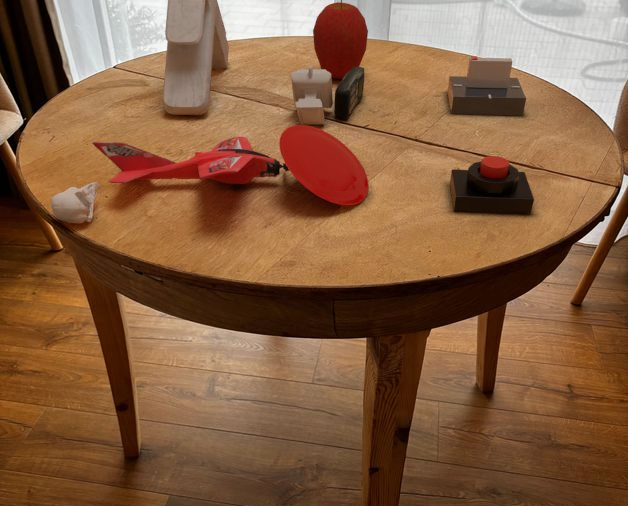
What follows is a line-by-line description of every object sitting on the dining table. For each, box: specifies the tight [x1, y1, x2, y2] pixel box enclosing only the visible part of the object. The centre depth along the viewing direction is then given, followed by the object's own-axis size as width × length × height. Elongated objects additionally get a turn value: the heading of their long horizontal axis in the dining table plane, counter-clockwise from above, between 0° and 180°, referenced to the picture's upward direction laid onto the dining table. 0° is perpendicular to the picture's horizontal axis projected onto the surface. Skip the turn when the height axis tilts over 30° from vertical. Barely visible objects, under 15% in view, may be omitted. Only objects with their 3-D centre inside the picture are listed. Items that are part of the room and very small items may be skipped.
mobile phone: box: [333, 66, 365, 119], centre depth 116 cm, size 5×3×15 cm
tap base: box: [447, 75, 527, 117], centre depth 117 cm, size 12×11×3 cm
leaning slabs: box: [161, 0, 230, 116], centre depth 120 cm, size 8×24×23 cm
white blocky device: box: [290, 65, 334, 126], centre depth 110 cm, size 9×7×8 cm
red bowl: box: [278, 124, 370, 206], centre depth 92 cm, size 14×14×6 cm
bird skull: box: [50, 181, 101, 224], centre depth 87 cm, size 6×8×4 cm
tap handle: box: [466, 55, 514, 88], centre depth 114 cm, size 7×2×5 cm, turn 85°
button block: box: [449, 160, 535, 215], centre depth 90 cm, size 10×8×4 cm
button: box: [480, 155, 510, 179], centre depth 88 cm, size 4×4×2 cm
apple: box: [312, 0, 369, 80], centre depth 124 cm, size 10×10×14 cm
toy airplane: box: [91, 136, 290, 187], centre depth 92 cm, size 27×27×5 cm
